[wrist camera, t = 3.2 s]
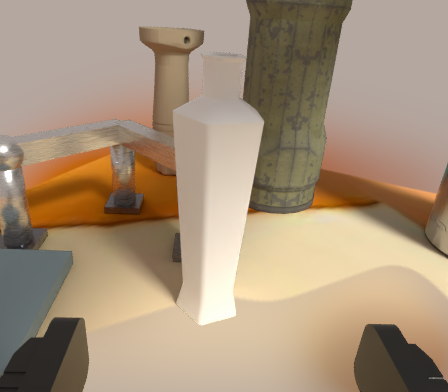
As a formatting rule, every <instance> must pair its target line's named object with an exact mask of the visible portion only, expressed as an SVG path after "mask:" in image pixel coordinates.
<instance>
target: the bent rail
mask: <svg viewBox="0 0 448 392" xmlns="http://www.w3.org/2000/svg"><path fill="white" fill-rule="evenodd" d="M108 146H110V148H111V165H112V182H113V193H111V195H110V197H109V199H108V201H107V203H106V205H105V213H118V214H139V213H140V210H141V207H142V204H143V201H144V194H136V182H135V152H137V153H139V154H141V155H144V156H146V157H148V158H150V159H152V160H154V161H156V162H158V163H160V164H162V165H164V166H166V167H168V168H170V169H172V170H174V171H176V160H175V144H174V138H173V137H171V136H168V135H166V134H163V133H161V132H158V131H156V130H153V129H151V128H148V127H146V126H143V125H140V124H138V123H136V122H134V121H131V120H126V121H120V120H117V119H113V120H108V121H102V122H96V123H90V124H85V125H79V126H73V127H67V128H61V129H56V130H50V131H44V132H39V133H33V134H27V135H21V136H15V137H10V136H7V135H0V228H1V232H2V234H1V235H0V249H22V250H38V249H39V248H40V246H41V245H42V243H43V242H44V240H45V239H46V237H47V236H48V232H47V229H38V228H32V224H31V218H30V212H29V206H28V200H27V194H26V188H25V183H24V177H23V171H22V166H25V165H30V164H34V163H38V162H42V161H47V160H51V159H56V158H60V157H64V156H68V155H73V154H77V153H82V152H86V151H90V150H95V149H99V148H103V147H108ZM173 262H182V258H181V242H180V233H176V234H175V242H174V250H173Z"/></svg>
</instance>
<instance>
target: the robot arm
mask: <svg viewBox="0 0 448 392" xmlns="http://www.w3.org/2000/svg"><path fill="white" fill-rule="evenodd" d="M425 233H426V236H427V238H428V239H429V240H430V241H431V243H432V244H433V245H435V246H436V247H437V248H438V249H439V250H441V251H442V252H444V253H445V254H447V255H448V164H447V167H446V170H445V173H444V176H443V178H442V181H441V184H440V187H439V190H438V193H437V195H436V198H435V201H434V204H433V207H432V210H431V213H430V216H429V219H428V221H427V224H426V227H425ZM88 364H89V355H88V346H87V338H86V329H85V321H84V319H83V318H60V317H55V318H53V320H52V321H51V323H50V325H49V327H48V329H47V331H46V333H45V335H44V337H43V338H37V337H31V338H30V339H28V340H27V341H26V342H25V343H24V344H23V345H22V346H21V347H20V348H19V349H18V350H17V351H16V352H14V354H13V355H12V357H11V359H10V361H9V363H8V365H7V366H6V368H5V370H4V373H3V375H1V377H0V392H82V391H83V388H84V385H85V382H86V378H87V373H88ZM354 374H355V379H356V383H357V385H358V388H359V390H360V392H448V383H447V381H446V380H444V379H443V375H442V374H441V372H440V371H439V369H438V368H437V366H436V365H435V363H434V362H433V360H432V359H431V358H430V357H429V356H428V355H427V354H426V353H425V352H423V351H422V350H421V349H420V348H419V347H418V346H417V345H416V344H408V343H407V341H406V339H405V338H404V337H403V335H402V333H401V331H400V330H399V328H398V327H397V326H396V325H392V324H390V325H389V324H368V325H366V327H365V329H364V332H363V335H362V338H361V342H360V345H359V348H358V352H357V355H356V358H355V362H354Z"/></svg>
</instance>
